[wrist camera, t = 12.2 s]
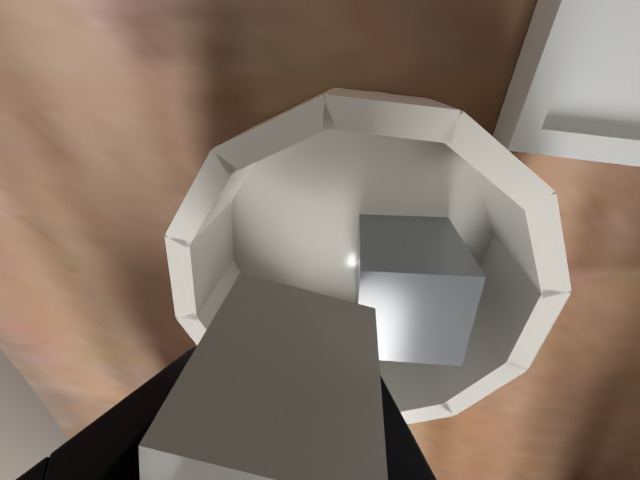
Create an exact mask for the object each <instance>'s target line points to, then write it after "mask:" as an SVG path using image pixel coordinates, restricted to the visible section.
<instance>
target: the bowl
mask: <svg viewBox="0 0 640 480" xmlns="http://www.w3.org/2000/svg"><path fill="white" fill-rule="evenodd" d="M359 214H365V215H394V216H423V217H448V218H449V219H450V221H451V222H452V224H453V226H454V227H455V229H456V230H457V232H458V234H459V235H460V237H461V238H462V240H463V242H464V243H465V245H466V246H467V248H468V250H469V251H470V253H471V254H472V256H473V257H474V259H475V261H476V262H477V264H478V265H479V267H480V269H481V270H482V272H483V273H484V275H485V277H486V278H485V282H484V286H483V290H482V293H481V297H480V301H479V304H478V308H477V312H476V316H475V319H474V323H473V327H472V330H471V334H470V338H469V341H468V345H467V349H466V353H465V356H464V360H463V364H462V366H451V365H437V364H424V363H410V362H397V361H383V360H379V366H380V375H381V377H382V378H383V380H384V382H385V384H386V386H387V388H388V390H389V392H390V393H391V395H392V397H393V399H394V401H395V403H396V405H397V407H398V408H399V410H400V412H401V414H402V416H403V418H404V420H405V422H406V423H407V424H411V423H417V422H422V421H428V420H434V419H439V418H445V417H451V416H453V414H454V415H456V414H458V413H460V412H461V411H463V410H465V409H466V408H468V407H469V406H471V405H473V404H474V403H476V402H477V401H479V400H481V399H482V398H484V397H485V396H487V395H489V394H490V393H492V392H493V391H495V390H497V389H498V388H500V387H501V386H503V385H505V384H506V383H508V382H510V381H511V380H513V379H514V378H516V377H518V376H519V375H521V374H522V373H524V372H526V369H528V368H529V367H530V365H531V363H532V361H533V360H534V358H535V356H536V354H537V352H538V351H539V349H540V347H541V345H542V344H543V342H544V340H545V338H546V336H547V335H548V333H549V331H550V329H551V328H552V326H553V324H554V322H555V320H556V319H557V317H558V315H559V313H560V312H561V310H562V308H563V306H564V304H565V303H566V301H567V299H568V297H569V296H570V294H571V292H570V291H571V285H570V278H569V272H568V265H567V259H566V252H565V246H564V239H563V233H562V226H561V220H560V213H559V207H558V200H557V194H556V193H555V191H554V190H553V189H552V188H551V187H550V186H549V185H547V184H546V183H545V182H544V181H543V180H542V179H541V178H539V177H538V176H537V175H536V174H535V173H534V172H533V171H531V170H530V169H529V168H528V167H527V166H526V165H525V164H523V163H522V162H521V161H520V160H519V159H518V158H517V157H515V156H514V155H513V154H512V153H511V152H510V151H509V150H507V149H506V148H505V147H504V146H503V145H502V144H501V143H499V142H498V141H497V140H496V139H495V138H494V137H493V136H491V135H490V134H489V133H488V132H487V131H486V130H485V129H483V128H482V127H481V126H480V125H479V124H478V123H477V122H475V121H474V120H473V119H472V118H471V117H470V116H469V115H467V114H466V113H465V112H464V111H462V110H459V109H457V108H454V107H451V106H448V105H446V104H443V103H440V102H438V101H435V100H432V99H429V98H422V97H413V96H404V95H396V94H390V93H385V92H376V91H361V90H352V89H343V88H334V89H333V88H332V89H330V90H328V91H326V92H324V93H322V94H320V95H318V96H315V97H313V98H311V99H309V100H307V101H305V102H303V103H301V104H299V105H297V106H295V107H293V108H291V109H289V110H287V111H285V112H283V113H281V114H279V115H277V116H275V117H273V118H271V119H269V120H266V121H264V122H262V123H260V124H258V125H256V126H254V127H252V128H250V129H249V130H247V131H245V132H243V133H241V134H239V135H237V136H235V137H233V138H231V139H230V140H228V141H226V142H224V143H222V144H220V145H218V146H216V147H214V148H213V149H212V150H211V151H210V152H209V154H208V156H207V158H206V160H205V162H204V164H203V165H202V167H201V169H200V171H199V173H198V175H197V176H196V178H195V180H194V182H193V184H192V186H191V188H190V189H189V191H188V193H187V195H186V197H185V199H184V200H183V202H182V204H181V206H180V208H179V210H178V212H177V213H176V215H175V217H174V219H173V221H172V223H171V224H170V226H169V228H168V230H167V232H166V234H165V235H166V236H165V244H166V251H167V259H168V266H169V273H170V281H171V288H172V295H173V303H174V310H175V317H177V318H176V319H177V320H178V322H179V323H180V324H181V326H182V327H183V328H184V329H185V331H186V332H187V333H188V335H189V336H190V337H191V338H192V340H193V341H194V342H195V344H196V345H198V344H199V342H200V340H201V338H202V337H203V335H204V333H205V332H206V330H207V328H208V327H209V325H210V323H211V321H212V320H213V318H214V316H215V315H216V313H217V311H218V310H219V308H220V306H221V304H222V303H223V301H224V299H225V298H226V296H227V294H228V293H229V291H230V289H231V287H232V286H233V284H234V282H235V281H236V279H237V277H238V276H239V274H240V273H243V274H246V275H250V276H254V277H258V278H262V279H266V280H269V281H273V282H277V283H281V284H285V285H289V286H292V287H296V288H300V289H304V290H308V291H312V292H315V293H319V294H323V295H327V296H331V297H335V298H338V299H342V300H346V301H350V302H354V303H355V285H356V266H357V248H358V229H359Z"/></svg>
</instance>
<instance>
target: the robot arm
mask: <svg viewBox="0 0 640 480" xmlns="http://www.w3.org/2000/svg"><path fill="white" fill-rule="evenodd" d="M196 347H197V345H196V346H194V347H192V348H191V349H190V350H188V351H187V352H186V353H184V354H183V355H182V356H180V357H179V358H178V359H176V360H175V361H174V362H172V363H171V364H170V365H168V366H167V367H166V368H164V369H163V370H162V371H160V372H159V373H158V374H156V375H155V376H154V377H152V378H151V379H150V380H148V381H147V382H146V383H144V384H143V385H142V386H140V387H139V388H138V389H136V390H135V391H134V392H132V393H131V394H130V395H128V396H127V397H126V398H124V399H123V400H122V401H120V402H119V403H118V404H116V405H115V406H114V407H112V408H111V409H110V410H108V411H107V412H106V413H104V414H103V415H102V416H100V417H99V418H98V419H96V420H95V421H94V422H92V423H91V424H90V425H88V426H87V427H86V428H84V429H83V430H82V431H80V432H79V433H78V434H76V435H75V436H74V437H72V438H71V439H70V440H68V441H67V442H66V443H64V444H63V445H62V446H60V447H59V448H58V449H56V450H55V451H54V452H52V453H51V455H50V457H46V458H44V459H43V460H41V461H40V462H39V463H37V464H36V465H35V466H34V467H32V468H31V469H29V470H28V471H27V472H25V473H24V474H23V475H21V476H20V477H19V478H17V479H16V480H140V472H139V444H140V442H141V440H142V439H143V437H144V435H145V434H146V432H147V430H148V429H149V427H150V425H151V423H152V422H153V420H154V418H155V417H156V415H157V413H158V412H159V410H160V408H161V406H162V405H163V403H164V401H165V400H166V398H167V396H168V395H169V393H170V391H171V389H172V388H173V386H174V384H175V383H176V381H177V379H178V378H179V376H180V374H181V372H182V371H183V369H184V367H185V366H186V364H187V362H188V361H189V359H190V357H191V355H192V354H193V352H194V350H195V349H196ZM380 379H381V393H382V406H383V420H384V433H385V447H386V460H387V473H388V480H436V478H435V476H434V474H433V472H432V470H431V468H430V467H429V465H428V463H427V461H426V459H425V457H424V455H423V453H422V452H421V450H420V448H419V446H418V444H417V442H416V440H415V438H414V437H413V435H412V433H411V431H410V429H409V427H408V425H407V423H406V422H405V420H404V418H403V416H402V414H401V412H400V410H399V408H398V407H397V405H396V403H395V401H394V399H393V397H392V395H391V393H390V392H389V390H388V388H387V386H386V384H385V382H384V380H383V378H382V377H381V375H380Z"/></svg>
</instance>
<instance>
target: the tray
mask: <svg viewBox="0 0 640 480" xmlns="http://www.w3.org/2000/svg"><path fill="white" fill-rule="evenodd" d="M493 137H494V138H495V139H496V140H497V141H498V142H499V143H501V144H502V145H503V146H504V147H505V148H506V149H507V150H509V151H515V152H523V153H531V154H540V155H548V156H556V157H564V158H573V159H581V160H589V161H598V162H606V163H614V164H623V165H631V166H639V167H640V0H538V1H537V4H536V7H535V10H534V13H533V16H532V19H531V22H530V25H529V28H528V31H527V34H526V37H525V40H524V43H523V46H522V49H521V52H520V55H519V58H518V61H517V64H516V67H515V70H514V73H513V76H512V79H511V82H510V85H509V88H508V91H507V94H506V97H505V100H504V103H503V106H502V109H501V112H500V115H499V118H498V121H497V124H496V127H495V130H494V133H493Z"/></svg>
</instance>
